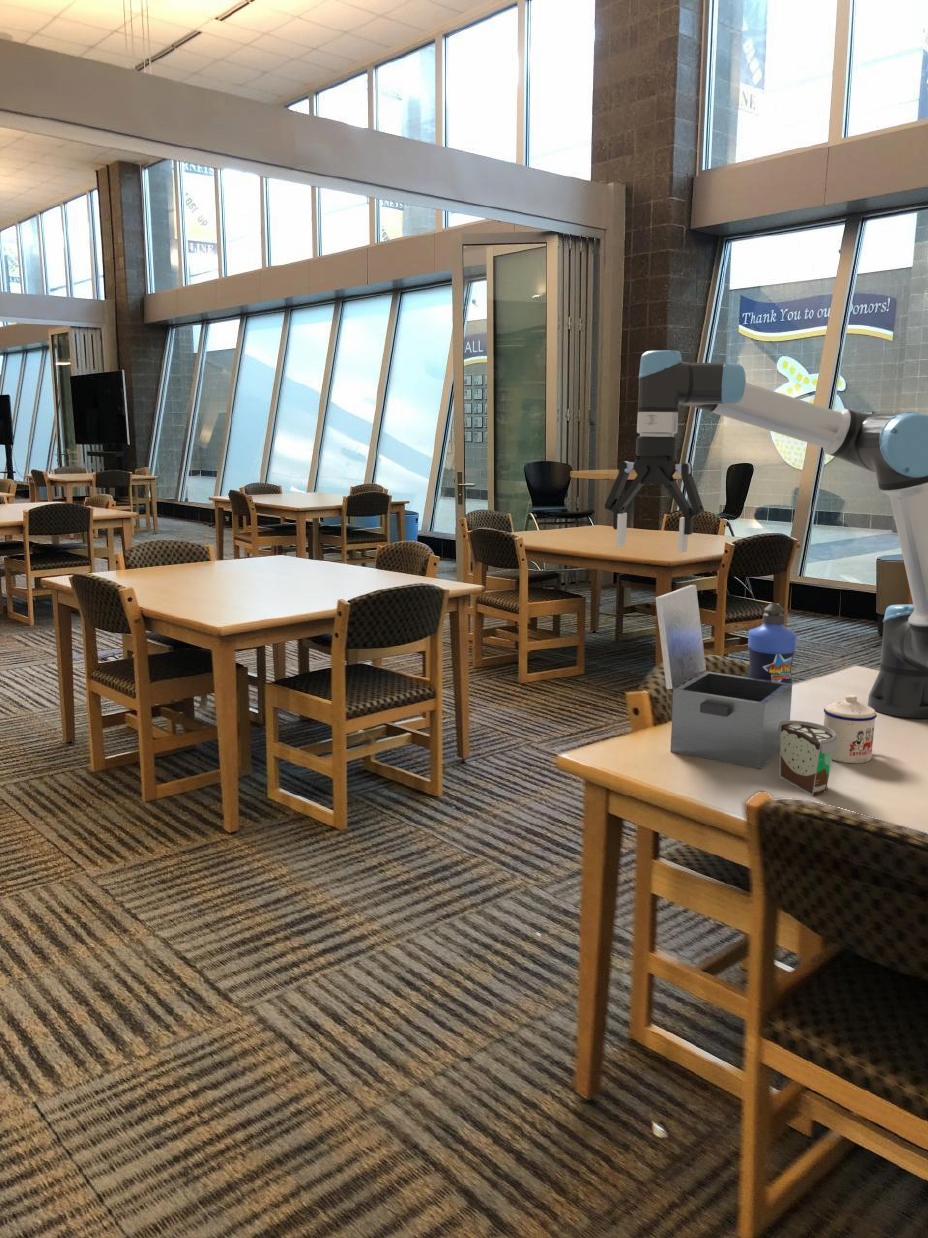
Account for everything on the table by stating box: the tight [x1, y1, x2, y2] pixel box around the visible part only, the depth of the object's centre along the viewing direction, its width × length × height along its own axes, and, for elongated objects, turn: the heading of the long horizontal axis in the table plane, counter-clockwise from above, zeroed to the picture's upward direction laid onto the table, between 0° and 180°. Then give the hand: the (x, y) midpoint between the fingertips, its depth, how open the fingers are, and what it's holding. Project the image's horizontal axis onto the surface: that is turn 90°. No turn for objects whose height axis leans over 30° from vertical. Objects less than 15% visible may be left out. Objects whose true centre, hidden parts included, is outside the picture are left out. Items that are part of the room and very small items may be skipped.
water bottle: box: [747, 602, 798, 720], centre depth 197 cm, size 9×9×25 cm
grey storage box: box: [670, 670, 793, 770], centre depth 183 cm, size 17×21×12 cm
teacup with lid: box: [823, 694, 878, 764], centre depth 179 cm, size 12×9×12 cm
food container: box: [778, 719, 838, 797], centre depth 164 cm, size 12×6×10 cm, turn 17°
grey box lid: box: [655, 584, 707, 690], centre depth 186 cm, size 17×18×3 cm
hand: (651, 549), depth 187 cm, fingers open, 12 cm apart
